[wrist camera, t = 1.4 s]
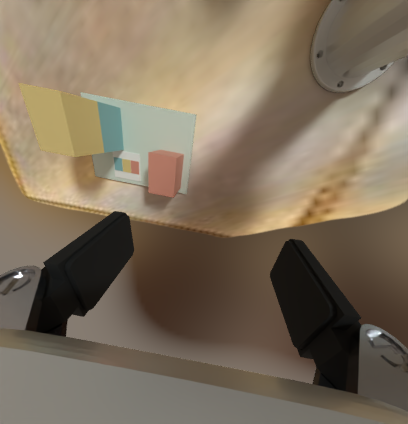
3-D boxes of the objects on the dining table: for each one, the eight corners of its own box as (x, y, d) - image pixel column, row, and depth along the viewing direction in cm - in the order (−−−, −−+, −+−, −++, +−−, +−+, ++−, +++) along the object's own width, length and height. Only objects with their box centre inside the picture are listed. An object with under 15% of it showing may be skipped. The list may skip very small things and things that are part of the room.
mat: (82, 92, 28) (80, 92, 27) (196, 114, 28) (196, 114, 27) (96, 175, 35) (95, 176, 35) (186, 193, 35) (186, 194, 35)
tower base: (94, 102, 28) (18, 82, 17) (120, 107, 28) (59, 90, 17) (101, 145, 32) (40, 150, 21) (123, 149, 31) (75, 157, 21)
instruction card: (112, 148, 32) (111, 148, 31) (139, 154, 32) (139, 154, 31) (115, 176, 34) (114, 176, 34) (140, 181, 34) (140, 181, 34)
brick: (160, 149, 31) (148, 152, 25) (184, 154, 31) (176, 158, 25) (159, 183, 34) (148, 192, 29) (180, 188, 34) (173, 197, 29)
